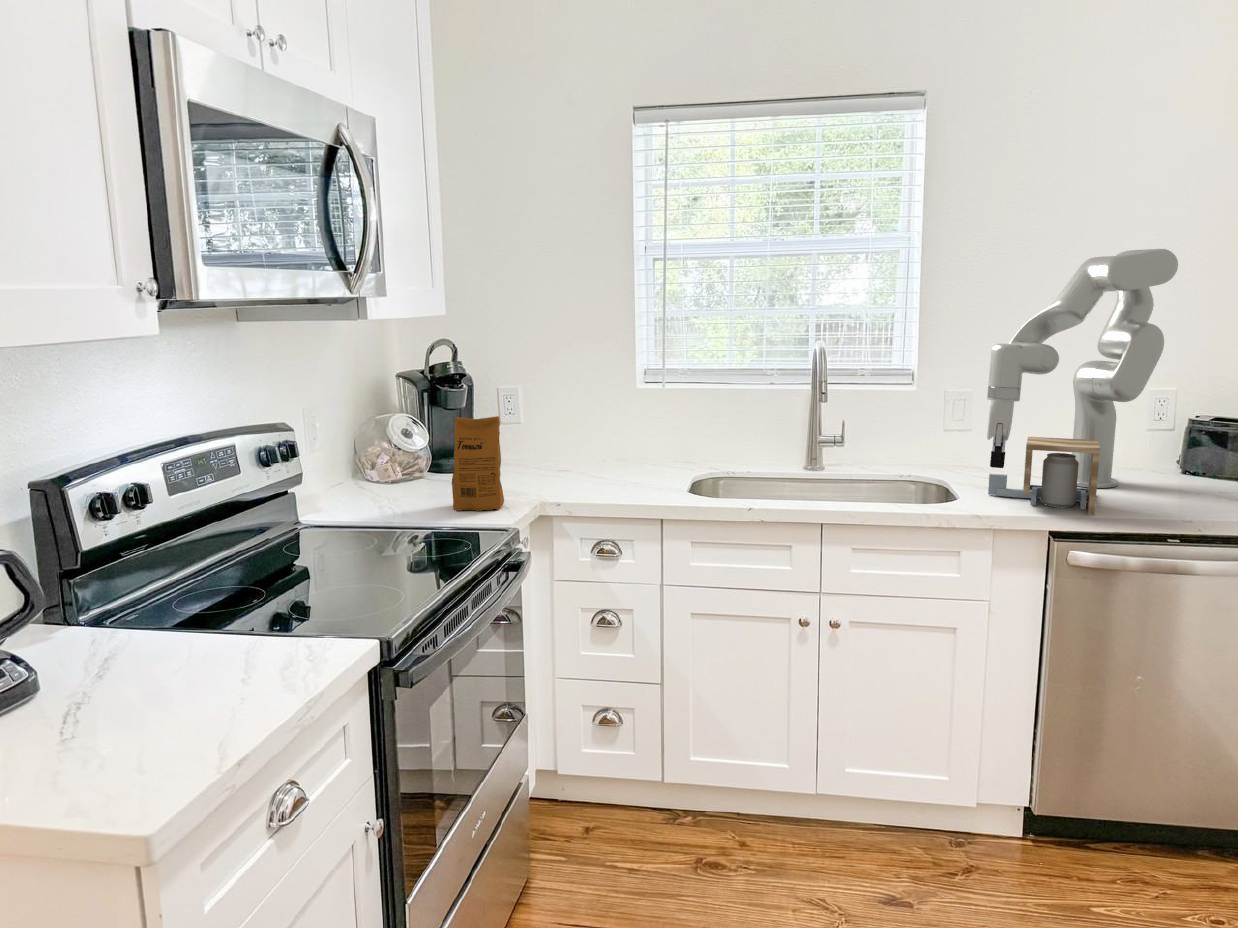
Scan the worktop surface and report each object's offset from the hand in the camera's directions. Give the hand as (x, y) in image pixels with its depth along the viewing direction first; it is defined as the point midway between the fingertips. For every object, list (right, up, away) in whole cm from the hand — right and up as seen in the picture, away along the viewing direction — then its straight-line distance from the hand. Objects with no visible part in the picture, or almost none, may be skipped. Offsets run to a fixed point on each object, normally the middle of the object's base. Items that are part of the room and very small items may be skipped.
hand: (996, 467), depth 234 cm
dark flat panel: (+13, -7, -5) cm, 15 cm away
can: (+8, -9, -15) cm, 19 cm away
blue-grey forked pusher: (+4, -8, -12) cm, 15 cm away
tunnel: (+7, -9, -17) cm, 20 cm away
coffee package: (-128, -10, -9) cm, 129 cm away
